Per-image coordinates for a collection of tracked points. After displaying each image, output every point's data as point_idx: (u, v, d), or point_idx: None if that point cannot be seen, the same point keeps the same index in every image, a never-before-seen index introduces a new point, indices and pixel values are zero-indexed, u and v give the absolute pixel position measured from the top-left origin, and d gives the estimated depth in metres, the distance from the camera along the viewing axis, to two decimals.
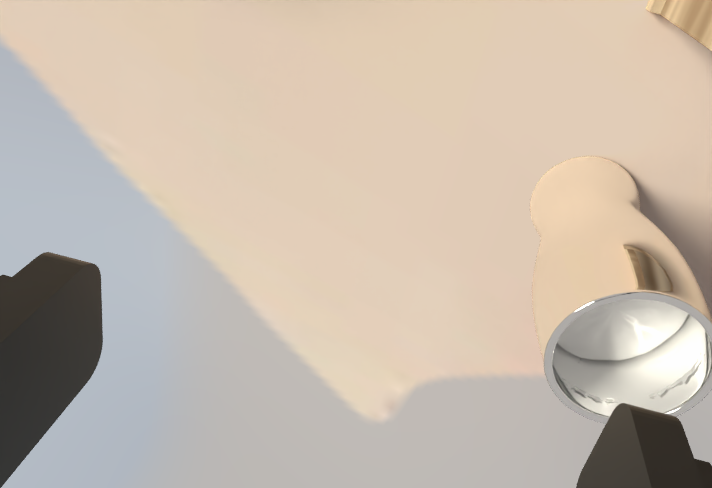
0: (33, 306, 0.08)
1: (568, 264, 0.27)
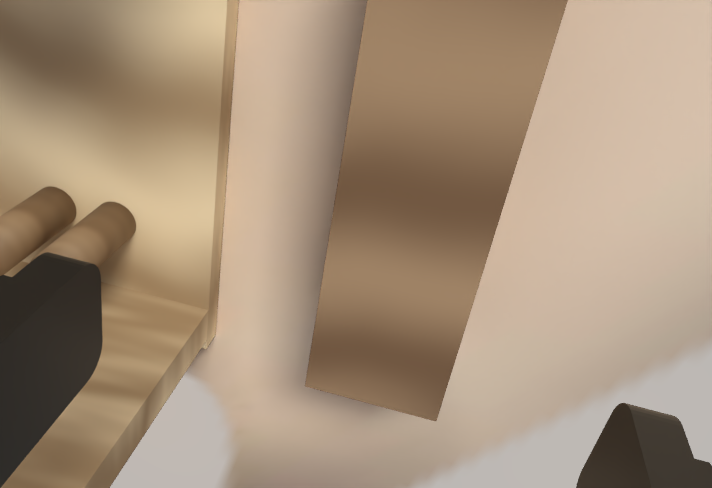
0: (33, 306, 0.08)
1: None
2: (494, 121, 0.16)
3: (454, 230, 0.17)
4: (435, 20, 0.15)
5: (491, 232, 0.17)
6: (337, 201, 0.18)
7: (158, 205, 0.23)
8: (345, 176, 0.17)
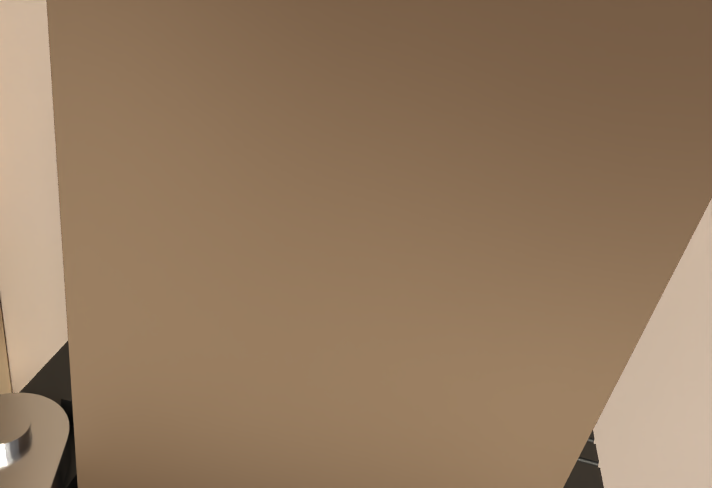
0: None
1: None
2: None
3: None
4: (267, 256, 0.05)
5: None
6: None
7: None
8: None
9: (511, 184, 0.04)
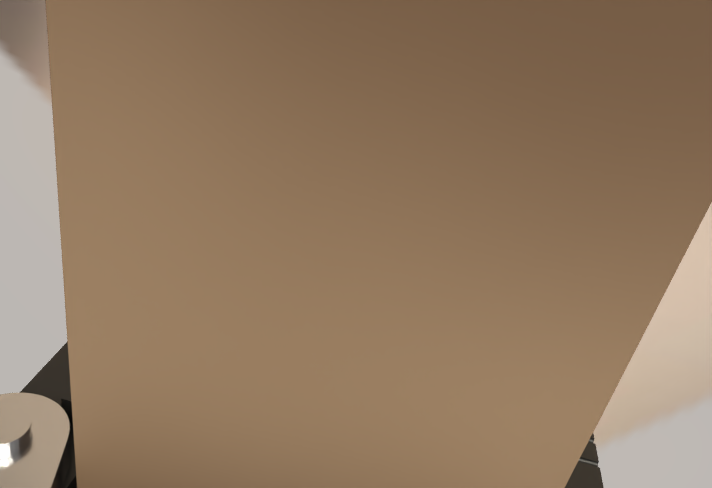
0: None
1: None
2: None
3: None
4: (267, 260, 0.05)
5: None
6: None
7: None
8: None
9: (509, 190, 0.04)
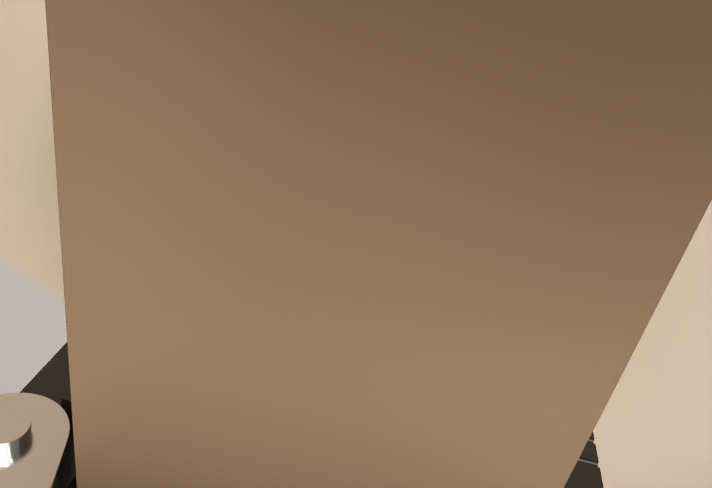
0: None
1: None
2: None
3: None
4: (267, 260, 0.05)
5: None
6: None
7: None
8: None
9: (509, 188, 0.04)
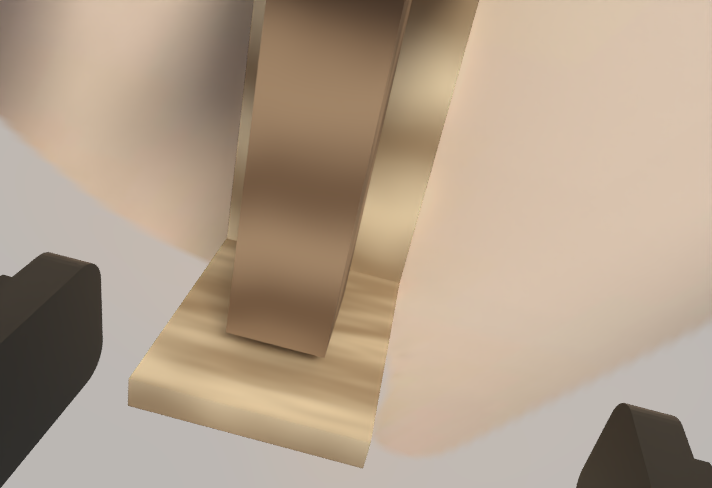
0: (33, 306, 0.08)
1: None
2: (350, 136, 0.23)
3: (328, 212, 0.24)
4: (306, 66, 0.22)
5: (354, 214, 0.24)
6: (244, 191, 0.24)
7: (377, 209, 0.34)
8: (249, 173, 0.24)
9: (356, 47, 0.21)
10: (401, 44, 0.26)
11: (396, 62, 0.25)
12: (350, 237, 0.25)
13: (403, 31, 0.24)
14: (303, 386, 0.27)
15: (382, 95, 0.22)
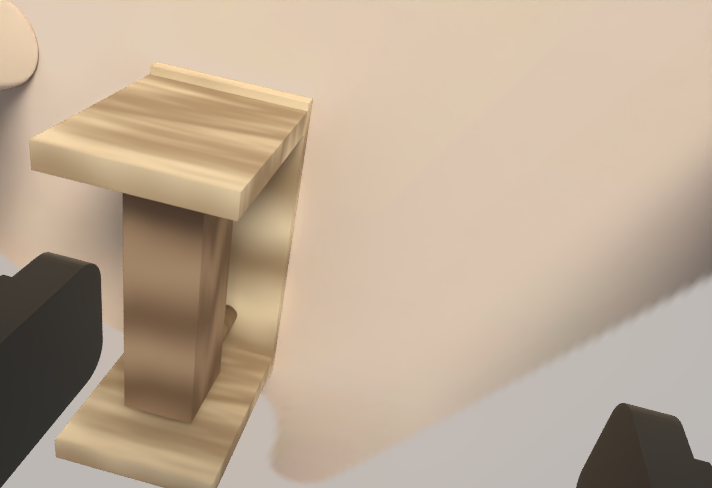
0: (33, 306, 0.08)
1: None
2: (184, 291, 0.35)
3: (178, 334, 0.37)
4: (152, 251, 0.35)
5: (194, 336, 0.37)
6: (125, 320, 0.37)
7: (249, 307, 0.47)
8: (126, 309, 0.37)
9: (180, 242, 0.34)
10: None
11: (227, 231, 0.38)
12: (194, 349, 0.37)
13: None
14: (175, 443, 0.40)
15: (200, 268, 0.35)
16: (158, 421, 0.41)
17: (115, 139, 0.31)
